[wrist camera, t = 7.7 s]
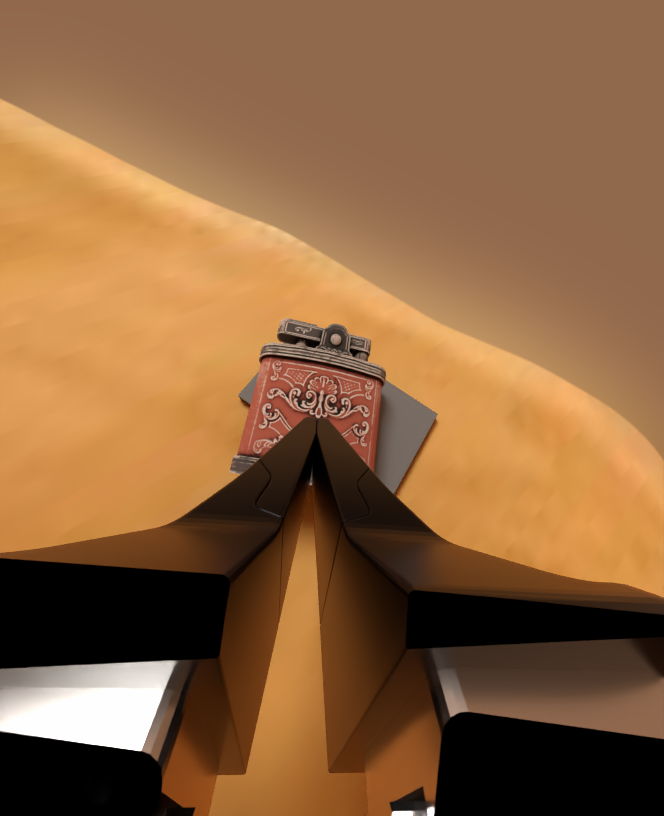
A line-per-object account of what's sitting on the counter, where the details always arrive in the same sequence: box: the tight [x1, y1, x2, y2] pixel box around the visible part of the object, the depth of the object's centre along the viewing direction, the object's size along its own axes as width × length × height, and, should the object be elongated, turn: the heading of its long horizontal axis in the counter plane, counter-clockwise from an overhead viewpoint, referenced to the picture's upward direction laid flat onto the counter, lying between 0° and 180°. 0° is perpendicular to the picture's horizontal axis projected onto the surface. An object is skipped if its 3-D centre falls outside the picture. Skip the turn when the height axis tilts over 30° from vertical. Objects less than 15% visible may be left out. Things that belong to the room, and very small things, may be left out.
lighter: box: [230, 318, 386, 485], centre depth 15 cm, size 8×3×10 cm
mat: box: [238, 343, 438, 494], centre depth 17 cm, size 7×12×1 cm, turn 56°
